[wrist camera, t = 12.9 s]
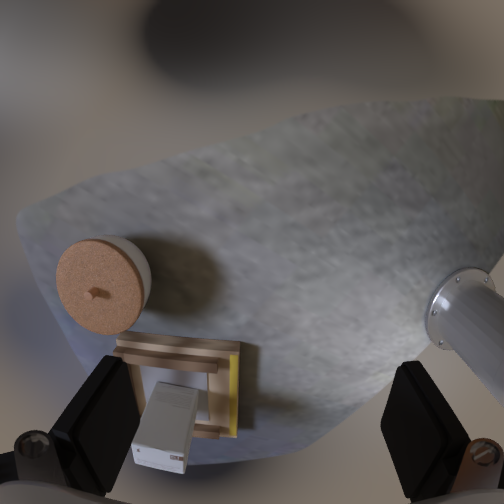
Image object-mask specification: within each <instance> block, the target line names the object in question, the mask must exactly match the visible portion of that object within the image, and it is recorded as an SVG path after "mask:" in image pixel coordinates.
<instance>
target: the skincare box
mask: <svg viewBox="0 0 504 504" xmlns="http://www.w3.org/2000/svg"><path fill="white" fill-rule="evenodd" d="M198 395H199V390H198V389H192V388H186V387H181V386H175V385H170V384H165V383H160V382H156V383H155V386H154V388H153V391H152V393H151V395H150V398H149V400H148V402H147V405H146V407H145V410H144V412H143V414H142V417H141V419H140V425H139V427H138V430H137V432H136V434H135V437H134V439H133V441H132V444H131V446H132V451H133V456H134V461H135V463H136V464H140V465H144V466H149V467H153V468H157V469H161V470H166V471H172V472H176V473H181V474H184V473H185V469H186V464H187V459H188V453H189V448H190V444H191V439H192V434H193V429H194V425H195V420H196V415H197V406H198Z"/></svg>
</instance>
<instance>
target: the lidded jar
mask: <svg viewBox="0 0 504 504" xmlns="http://www.w3.org/2000/svg"><path fill="white" fill-rule="evenodd" d="M56 283H57V289H58V293H59V296H60V299H61V301H62V303H63V305H64V307H65V309H66V310H67V311H68V313H69V314H70V315H71V316H72V318H73V319H74V320H75V321H77V322H78V323H79V324H80V325H81V326H83V327H85V328H86V329H88V330H90V331H92V332H95V333H98V334H104V335H114V334H119V333H122V332H124V331H126V330H127V329H129V328H130V327H131V326H132V325H133V324H134V323H135V322H136V320H137V319H138V317H139V316H140V314H141V312H142V310H143V309H144V307H145V305H146V303H147V300H148V298H149V294H150V291H151V283H152V280H151V272H150V267H149V264H148V262H147V260H146V258H145V256H144V254H143V253H142V251H141V250H140V249H139V248H138V247H137V246H136V245H135V244H133V243H132V242H130V241H129V240H127V239H125V238H122V237H120V236H115V235H99V236H94V237H91V238H88V239H85V240H82V241H79V242H77V243H75V244H74V245H72V246H70V247H69V248H68V249H67V250H66V251H65V252H64V254H63V255H62V257H61V259H60V261H59V263H58V267H57V273H56Z"/></svg>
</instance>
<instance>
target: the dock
mask: <svg viewBox="0 0 504 504" xmlns="http://www.w3.org/2000/svg"><path fill="white" fill-rule="evenodd" d="M116 342H117V347H116V348H115V349H114V351H113V355H114V356H116V357H121V358H122V360H123V362H126V363H127V366H128V370H129V374H130V379H131V383H132V387H133V391H134V395H135V399H136V403H137V407H138V411H139V414H140V419H141V417H142V414H143V412H144V410H145V407H146V405H147V402H148V400H149V398H150V395H151V393H152V391H153V388H154V386H155V383H156V382H160V383H165V384H170V385H175V386H181V387H186V388H192V389H198V390H199V395H198V406H197V415H196V420H195V425H194V429H193V434H192V437H200V438H210V439H219V436H220V437H234V438H237V430H238V402H239V367H240V341H226V340H212V339H199V338H188V337H177V336H167V335H158V334H149V333H140V332H132V331H124V332H122V333H120V335H119V336H118V337H117V339H116Z"/></svg>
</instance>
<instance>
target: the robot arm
mask: <svg viewBox="0 0 504 504" xmlns="http://www.w3.org/2000/svg"><path fill="white" fill-rule="evenodd" d="M425 326H426V331H427V334H428V336H429V338H430V340H431V341H432V342H433V343H434V344H435V345H436V346H437V347H439V348H441V349H443V350H455V352H456V353H457V354H458V355H459V356H460V357H461V358H462V359H463V360H464V362H465V363H466V364H467V365H468V366H469V367H470V369H471V370H472V371H473V372H474V373H475V374H476V375H477V377H478V378H479V379H480V380H481V382H482V383H483V384H484V385H485V386H486V388H487V389H488V390H489V391H490V392H491V394H492V395H493V396H494V397H495V398H496V400H497V401H498V402H499V403H500V404H501V405H502V406H503V407H504V298H503V297H502V296H500V295H499V294H497V293H496V291H495V286H494V283H493V281H492V279H491V277H490V276H489V275H488V274H487V273H486V272H484V271H482V270H481V269H478V268H475V267H467V268H463V269H460V270H458V271H456V272H454V273H452V274H451V275H450V276H448V277H447V278H446V279H445V280H444V281H443V282H442V283H441V284H440V285H439V287H438V288H437V289H436V291H435V293H434V294H433V296H432V298H431V300H430V302H429V305H428V308H427V312H426V318H425ZM139 425H140V414H139V411H138V407H137V403H136V399H135V395H134V391H133V387H132V383H131V379H130V374H129V370H128V366H127V363H126V362H123V360H122V358H121V357H116V356H109V355H105V356H104V357H103V358H102V360H101V361H100V362H99V364H98V365H97V366H96V368H95V369H94V370H93V372H92V373H91V374H90V376H89V377H88V378H87V380H86V381H85V382H84V384H83V385H82V387H81V388H80V389H79V391H78V392H77V393H76V395H75V396H74V397H73V399H72V400H71V402H70V403H69V404H68V406H67V407H66V409H65V410H64V412H63V413H62V414H61V416H60V417H59V418H58V420H57V421H56V423H55V424H54V426H53V427H52V429H51V430H50V431H49V433H46V432H44V431H40V430H31V431H27V432H25V433H23V434H21V435H20V436H19V437H18V438H17V439H16V441H15V444H14V451H11V452H7V453H3V454H0V504H130V503H125V502H121V501H117V500H113V499H109V498H105V495H106V492H107V493H109V492H111V490H112V488H113V486H114V484H115V481H116V479H117V476H118V474H119V471H120V469H121V467H122V465H123V462H124V460H125V457H126V455H127V453H128V450H129V448H130V446H131V444H132V441H133V439H134V437H135V434H136V432H137V430H138V427H139ZM381 431H382V433H383V436H384V439H385V441H386V444H387V447H388V449H389V452H390V455H391V458H392V461H393V463H394V466H395V469H396V472H397V474H398V477H399V480H400V483H401V486H402V489H403V492H404V495H405V497H406V498H410V500H411V503H410V504H504V452H503V449H502V448H501V446H500V445H499V444H498V443H497V442H495V441H494V440H491V439H488V438H479V439H475V440H473V441H471V440H470V438H469V437H468V434H467V432H466V431H465V429H464V428H463V426H462V424H461V423H460V421H459V420H458V418H457V416H456V415H455V414H454V412H453V410H452V409H451V407H450V406H449V404H448V402H447V401H446V400H445V398H444V396H443V395H442V393H441V392H440V390H439V389H438V387H437V386H436V384H435V383H434V381H433V380H432V379H431V377H430V375H429V374H428V373H427V371H426V370H425V368H424V367H423V365H422V364H421V363H420V361H407V362H403V363H402V365H401V366H399V367H398V368H397V370H396V373H395V377H394V381H393V384H392V388H391V391H390V394H389V398H388V401H387V404H386V407H385V410H384V413H383V416H382V419H381Z"/></svg>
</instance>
